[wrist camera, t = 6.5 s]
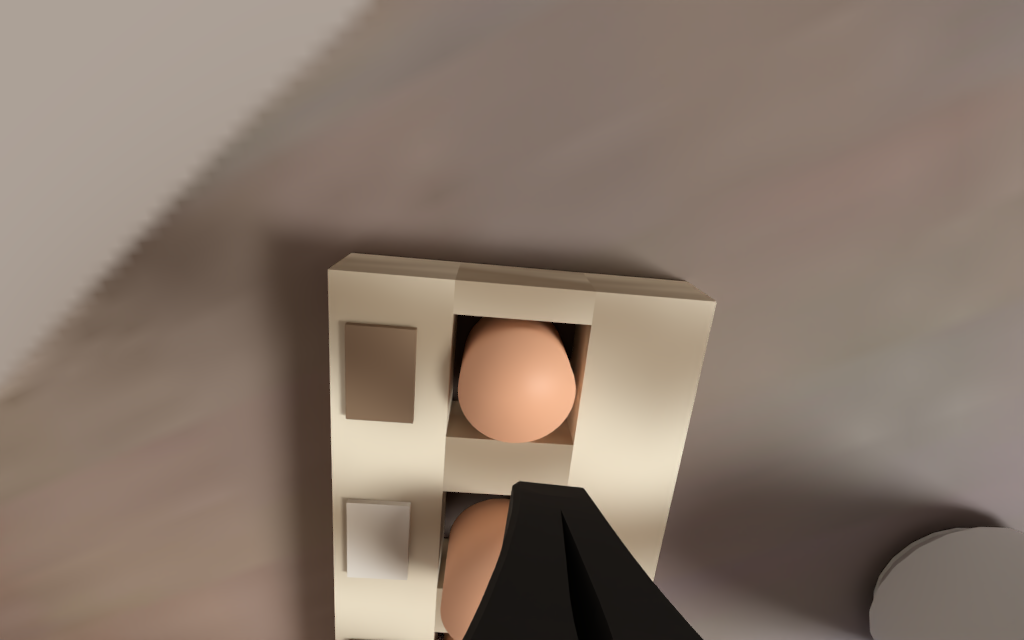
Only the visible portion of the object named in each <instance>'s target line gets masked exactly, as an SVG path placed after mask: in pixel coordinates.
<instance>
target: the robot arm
mask: <svg viewBox="0 0 1024 640" xmlns="http://www.w3.org/2000/svg"><path fill="white" fill-rule="evenodd" d="M462 640H703V639H702V638H701V637H700V635H699V634H698V633H697V632H696V631H695V630H694V629H693V628H692V627H691V626H690V625H689V623H688V622H687V621H686V620H685V619H684V618H683V617H682V615H681V614H680V613H679V612H678V611H677V610H676V608H675V607H674V606H673V605H672V604H671V603H670V602H669V600H668V599H667V598H666V597H665V596H664V595H663V593H662V592H661V591H660V590H659V589H658V587H657V586H656V585H655V584H654V582H653V581H652V580H651V579H650V577H649V576H648V575H647V573H646V572H645V571H644V570H643V568H642V567H641V566H640V564H639V563H638V562H637V561H636V559H635V558H634V557H633V555H632V554H631V553H630V551H629V550H628V549H627V547H626V546H625V545H624V543H623V542H622V541H621V539H620V538H619V537H618V535H617V534H616V532H615V531H614V530H613V528H612V527H611V525H610V524H609V523H608V521H607V520H606V518H605V517H604V516H603V514H602V513H601V511H600V510H599V509H598V507H597V506H596V504H595V503H594V501H593V500H592V499H591V497H590V496H589V495H588V493H587V492H586V490H585V489H584V488H581V487H572V486H562V485H553V484H543V483H534V482H525V481H519V482H517V483H516V484H514V485H512V491H511V497H510V503H509V508H508V514H507V520H506V526H505V532H504V538H503V544H502V548H501V552H500V555H499V558H498V561H497V563H496V566H495V569H494V571H493V573H492V576H491V578H490V581H489V583H488V585H487V588H486V590H485V593H484V595H483V597H482V600H481V602H480V604H479V607H478V609H477V611H476V613H475V615H474V617H473V619H472V621H471V623H470V625H469V627H468V630H467V632H466V633H465V635H464V637H463V639H462Z"/></svg>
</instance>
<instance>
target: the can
mask: <svg viewBox="0 0 1024 640" xmlns="http://www.w3.org/2000/svg"><path fill="white" fill-rule="evenodd" d="M869 618H870V633H871V635H872V637H873V639H874V640H1024V533H1022V532H1020V531H1017V530H1014V529H1011V528H999V527H976V528H953V529H949V530H944V531H939V532H935V533H932V534H930V535H928V536H926V537H924V538H921V539H919V540H917V541H915V542H913V543H911V544H910V545H908V546H907V547H906V548H905V549H903V550H902V551H901V552H900V553H898V554H897V555H896V556H894V557H893V558H892V559H891V561H890V562H889V563H888V565H887V566H886V567H885V569H884V570H883V571H882V572H881V574H880V576H879V578H878V581H877V584H876V587H875V589H874V600H873V603H872V605H871V608H870V611H869Z"/></svg>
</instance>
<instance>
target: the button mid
mask: <svg viewBox="0 0 1024 640" xmlns="http://www.w3.org/2000/svg"><path fill="white" fill-rule="evenodd" d="M509 503H510V499H489V500H485V501H481V502H479V503H476V504H474V505H472V506H470V507H469V508H467V509H466V510H464V511H463V512H462V513H461V514H460V515H459V516H458V517H457V519H456V520H455V521H454V523H453V525H452V527H451V531H450V535H449V543H448V551H447V559H446V567H445V575H444V583H443V591H442V599H441V607H440V614H441V620H442V623H443V625H444V627H445V629H446V631H447V632H448V633H449V635H450V636H451V637H452V638H453V639H454V640H462V639H463V637H464V635H465V633H466V632H467V630H468V627H469V625H470V623H471V621H472V619H473V617H474V615H475V613H476V611H477V609H478V607H479V604H480V602H481V600H482V597H483V595H484V593H485V590H486V588H487V585H488V583H489V581H490V578H491V576H492V573H493V571H494V569H495V566H496V563H497V561H498V558H499V555H500V552H501V548H502V544H503V538H504V532H505V526H506V520H507V514H508V508H509Z"/></svg>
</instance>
